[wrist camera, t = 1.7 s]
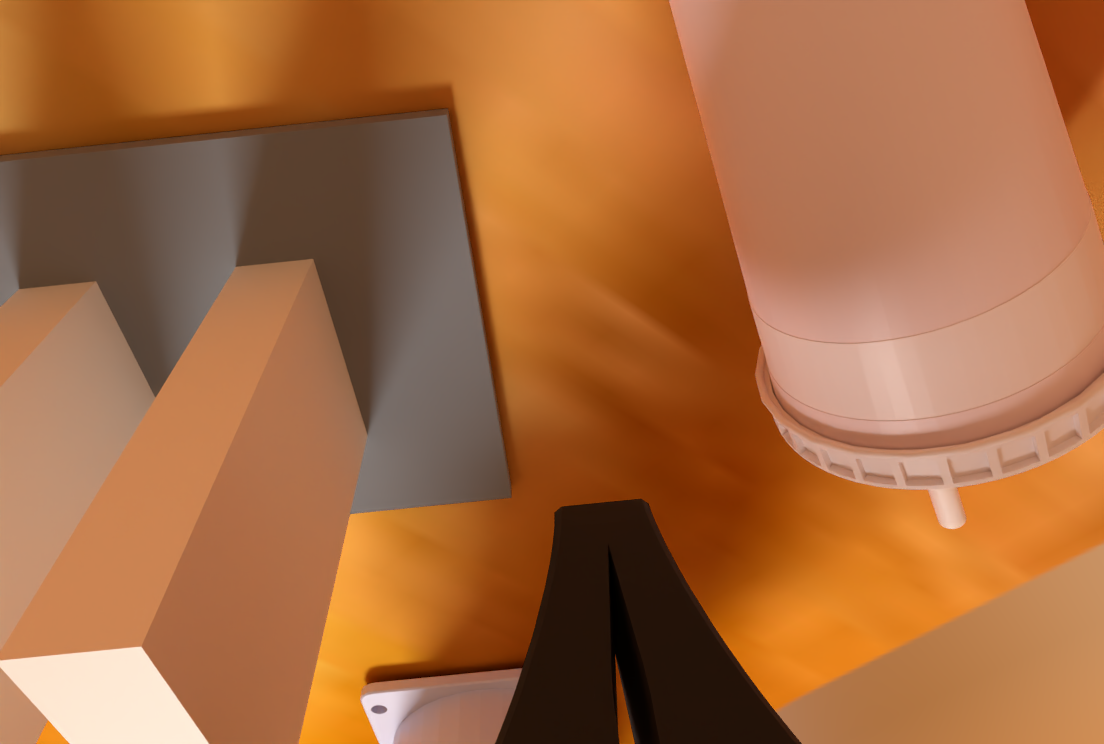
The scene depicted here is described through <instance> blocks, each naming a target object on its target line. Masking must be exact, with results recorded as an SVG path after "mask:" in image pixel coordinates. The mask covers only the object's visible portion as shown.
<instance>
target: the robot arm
mask: <svg viewBox="0 0 1104 744" xmlns="http://www.w3.org/2000/svg"><path fill="white" fill-rule="evenodd" d="M615 655H616V659H617V664H618V669H619V673H620V678H621V682H622V687H623V691H624V696H625V701H626V705H627V710H628V714H629V719H630V723H631V728H632V732H633V737H634V741H635V744H801V742H799V740H798V739H797V738H796V736H795V735H794V734H793V733H792V731H791V730H790V729H789V728H788V726H787V725H786V724H785V723H784V722H783V720H782V719H781V718H780V717H779V715H778V714H777V713H776V712H775V710H774V709H773V708H772V707H771V705H770V704H769V703H768V701H767V700H766V699H765V697H764V696H763V695H762V694H761V692H760V691H759V690H758V688H757V687H756V686H755V684H754V683H753V682H752V680H751V679H750V677H749V676H748V675H747V673H746V672H745V671H744V669H743V668H742V666H741V665H740V664H739V662H738V661H737V659H736V658H735V656H734V655H733V654H732V652H731V651H730V649H729V648H728V647H727V645H726V644H725V642H724V641H723V639H722V638H721V636H720V635H719V633H718V632H717V630H716V629H715V627H714V626H713V624H712V623H711V621H710V619H709V618H708V616H707V615H706V613H705V611H704V610H703V608H702V607H701V605H700V603H699V602H698V600H697V599H696V597H695V595H694V594H693V592H692V591H691V589H690V587H689V586H688V584H687V582H686V580H685V579H684V577H683V575H682V573H681V572H680V570H679V568H678V566H677V564H676V562H675V561H674V559H673V557H672V555H671V553H670V551H669V549H668V547H667V545H666V543H665V541H664V539H663V537H662V535H661V533H660V531H659V529H658V527H657V524H656V522H655V520H654V517H653V515H652V512H651V510H650V507H649V504H648V503H647V502H645V501H644V500H642V499H634V500H624V501H614V502H604V503H594V504H584V505H574V506H564V507H561V508H560V509H558V510H557V511H556V512H555V527H554V538H553V547H552V554H551V560H550V565H549V570H548V575H547V581H546V585H545V590H544V594H543V598H542V602H541V605H540V609H539V613H538V617H537V621H536V625H535V629H534V633H533V636H532V639H531V643H530V646H529V649H528V652H527V655H526V658H525V661H524V664H523V668H517V669H507V670H497V671H487V672H476V673H466V674H456V675H446V676H436V677H425V678H415V679H405V680H395V681H384V682H374V683H370V684H368V685H366V686H364V687H363V689H362V693H361V703H362V705H363V708H364V710H365V712H366V714H367V717H368V719H369V721H370V724H371V726H372V728H373V730H374V733H375V735H376V737H377V740H378V742H379V744H619V737H618V719H617V692H616V665H615Z"/></svg>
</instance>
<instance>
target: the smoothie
mask: <svg viewBox="0 0 1104 744" xmlns="http://www.w3.org/2000/svg"><path fill="white" fill-rule="evenodd" d="M669 3H670V7H671V10H672V14H673V18H674V21H675V25H676V29H677V33H678V36H679V40H680V44H681V47H682V51H683V55H684V59H685V62H686V66H687V70H688V73H689V77H690V81H691V85H692V88H693V92H694V96H695V99H696V103H697V107H698V111H699V114H700V118H701V122H702V126H703V129H704V133H705V137H706V140H707V144H708V148H709V152H710V155H711V159H712V163H713V166H714V170H715V174H716V178H717V181H718V185H719V189H720V192H721V196H722V200H723V204H724V207H725V211H726V215H727V218H728V222H729V226H730V230H731V233H732V237H733V241H734V244H735V248H736V252H737V256H738V259H739V263H740V267H741V270H742V274H743V278H744V282H745V285H746V289H747V293H748V299H749V303H750V306H751V310H752V313H753V316H754V320H755V323H756V327H757V330H758V334H759V337H760V340H761V344H762V345H761V346H760V348H759V353H758V360H757V366H756V372H755V377H756V381H757V385H758V389H759V393H760V397H761V400H762V403H763V404H764V405H765V406H766V407H767V409H768V410H769V411H770V412H771V414H772V415H773V418H774V421H775V423H776V425H777V427H778V429H779V432H780V433H781V435H782V436H783V438H784V439H785V441H786V442H787V443H788V444H789V445H790V446H791V448H792V449H793V450H794V451H795V452H797V453H798V454H799V455H800V456H801V457H803V458H804V459H805V460H807V461H808V462H810V463H811V464H813V465H814V466H816V467H818V468H820V469H822V470H824V471H826V472H828V473H831V474H833V475H836V476H838V477H841V478H844V479H847V480H851V481H854V482H857V483H862V484H867V485H872V486H877V487H885V488H893V489H910V490H926V489H928V492H929V494H930V497H931V500H932V503H933V506H934V509H935V512H936V515H937V518H938V521H939V523H940V525H942V526H943V527H945V528H948V529H955V528H959V527H961V526H962V525H964V523H965V522H966V515H965V512H964V509H963V506H962V502H961V499H960V496H959V493H958V489H957V487H963V486H969V485H977V484H981V483H985V482H990V481H994V480H999V479H1002V478H1006V477H1009V476H1013V475H1016V474H1019V473H1022V472H1025V471H1028V470H1030V469H1033V468H1036V467H1038V466H1041V465H1043V464H1045V463H1047V462H1050V461H1052V460H1054V459H1056V458H1058V457H1060V456H1062V455H1064V454H1066V453H1068V452H1069V451H1071V450H1073V449H1075V448H1077V447H1078V446H1080V445H1081V444H1083V443H1084V442H1086V441H1087V440H1089V439H1090V438H1092V437H1093V436H1094V435H1096V434H1097V433H1098V432H1099V431H1101V430H1102V429H1103V428H1104V244H1103V240H1102V237H1101V234H1100V230H1099V227H1098V223H1097V220H1096V217H1095V213H1094V210H1093V206H1092V203H1091V200H1090V197H1089V194H1088V192H1087V190H1086V188H1085V185H1084V182H1083V179H1082V176H1081V173H1080V169H1079V166H1078V163H1077V160H1076V157H1075V154H1074V151H1073V148H1072V145H1071V142H1070V139H1069V136H1068V132H1067V129H1066V126H1065V123H1064V120H1063V117H1062V114H1061V111H1060V108H1059V105H1058V102H1057V99H1056V95H1055V92H1054V89H1053V86H1052V83H1051V80H1050V77H1049V74H1048V71H1047V68H1046V65H1045V62H1044V58H1043V55H1042V52H1041V49H1040V46H1039V43H1038V40H1037V37H1036V34H1035V31H1034V28H1033V25H1032V21H1031V18H1030V15H1029V12H1028V9H1027V6H1026V3H1025V0H669Z"/></svg>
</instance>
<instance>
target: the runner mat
mask: <svg viewBox="0 0 1104 744" xmlns="http://www.w3.org/2000/svg"><path fill="white" fill-rule="evenodd" d="M306 259H313V260H314V263H315V266H316V270H317V273H318V276H319V279H320V283H321V286H322V289H323V292H324V296H325V299H326V302H327V305H328V308H329V312H330V315H331V318H332V321H333V325H334V328H335V331H336V334H337V338H338V341H339V344H340V347H341V351H342V354H343V357H344V360H345V364H346V367H347V370H348V373H349V377H350V380H351V383H352V386H353V390H354V393H355V396H356V399H357V403H358V406H359V409H360V412H361V416H362V419H363V422H364V425H365V429H366V432H367V435H368V436H367V440H366V445H365V449H364V454H363V458H362V463H361V467H360V471H359V476H358V480H357V485H356V489H355V494H354V498H353V503H352V507H351V511H350V514H354V513H364V512H374V511H384V510H394V509H404V508H414V507H424V506H434V505H444V504H454V503H464V502H474V501H484V500H494V499H504V498H511V482H510V476H509V470H508V464H507V458H506V452H505V446H504V440H503V434H502V428H501V422H500V416H499V410H498V404H497V398H496V392H495V386H494V380H493V374H492V368H491V362H490V356H489V350H488V344H487V338H486V332H485V326H484V320H483V314H482V308H481V302H480V296H479V290H478V284H477V278H476V272H475V266H474V260H473V254H472V249H471V243H470V237H469V231H468V225H467V219H466V213H465V207H464V201H463V195H462V189H461V183H460V177H459V171H458V165H457V159H456V153H455V147H454V141H453V135H452V129H451V123H450V117H449V111H448V108H447V109H437V110H428V111H418V112H409V113H399V114H390V115H380V116H370V117H361V118H351V119H342V120H332V121H323V122H313V123H304V124H294V125H285V126H275V127H266V128H256V129H247V130H237V131H228V132H218V133H209V134H199V135H190V136H180V137H171V138H161V139H152V140H142V141H133V142H123V143H114V144H104V145H95V146H85V147H76V148H66V149H57V150H47V151H38V152H28V153H18V154H9V155H0V307H1V306H2V305H3V304H4V303H5V302H6V301H7V300H8V299H9V298H10V297H11V296H12V295H14V294H15V293H16V292H17V291H18V290H19V289H26V288H36V287H45V286H55V285H65V284H74V283H84V282H94V281H96V282H97V284H98V286H99V288H100V290H101V292H102V294H103V296H104V298H105V300H106V302H107V304H108V306H109V308H110V310H111V312H112V314H113V316H114V318H115V320H116V321H117V323H118V325H119V327H120V329H121V331H122V333H123V335H124V337H125V339H126V341H127V343H128V345H129V347H130V349H131V351H132V353H133V355H134V357H135V359H136V361H137V363H138V365H139V367H140V369H141V371H142V373H143V374H144V376H145V378H146V380H147V382H148V384H149V386H150V388H151V390H152V392H153V394H154V396H155V398H156V396H157V395H158V393H159V392H160V390H161V388H162V387H163V385H164V383H165V382H166V380H167V378H168V377H169V375H170V374H171V372H172V370H173V369H174V367H175V365H176V364H177V362H178V360H179V359H180V357H181V356H182V354H183V352H184V351H185V349H186V347H187V346H188V344H189V342H190V341H191V339H192V338H193V336H194V334H195V333H196V331H197V329H198V328H199V326H200V325H201V323H202V321H203V320H204V318H205V316H206V315H207V313H208V311H209V310H210V308H211V307H212V305H213V303H214V302H215V300H216V298H217V297H218V295H219V293H220V292H221V290H222V289H223V287H224V285H225V284H226V282H227V280H228V279H229V277H230V276H231V274H232V272H233V271H234V269H235V267H239V266H248V265H258V264H268V263H277V262H287V261H297V260H306Z"/></svg>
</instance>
